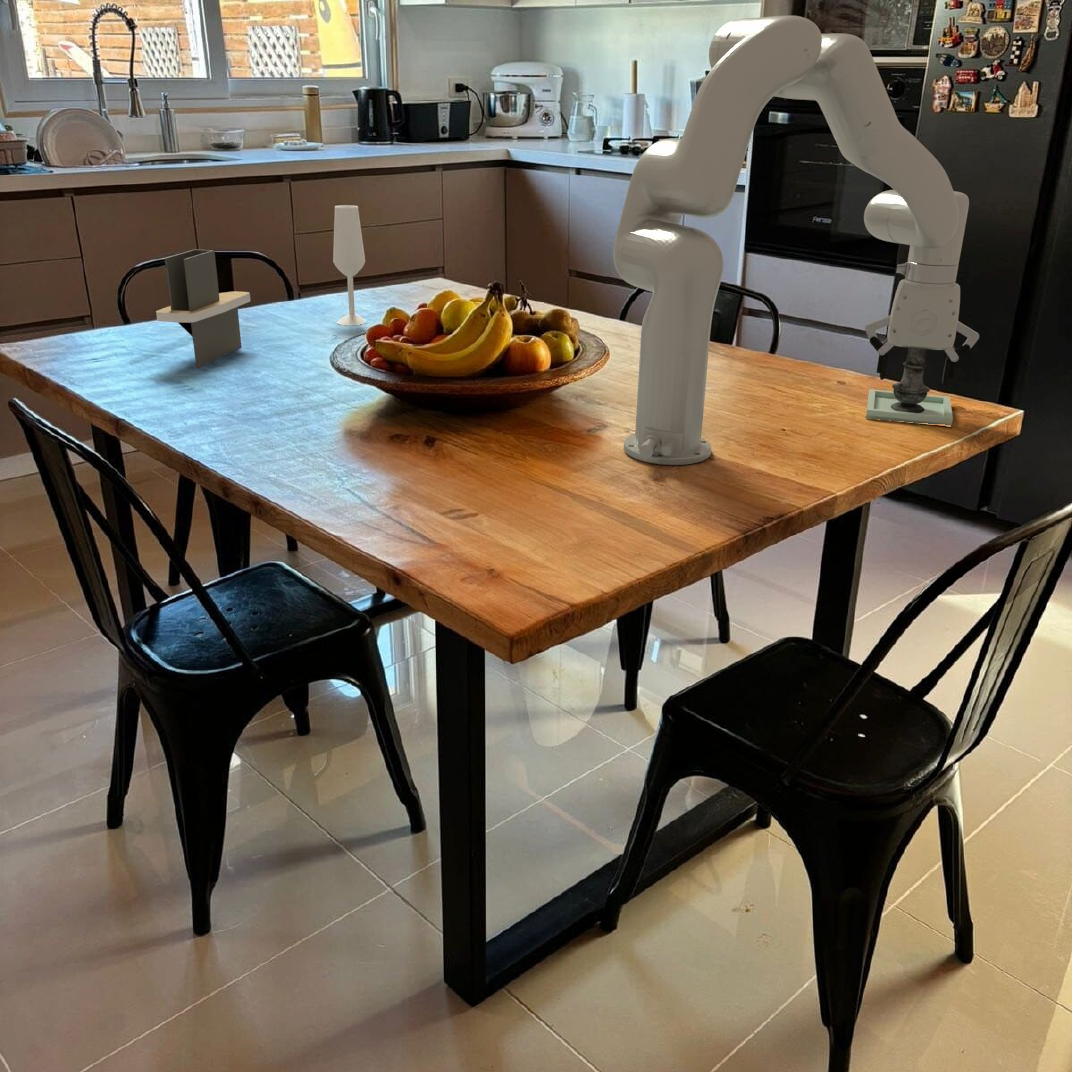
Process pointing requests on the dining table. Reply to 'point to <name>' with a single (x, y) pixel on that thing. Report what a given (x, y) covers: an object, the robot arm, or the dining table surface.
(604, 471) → the dining table surface
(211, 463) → the dining table surface
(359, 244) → the champagne flute
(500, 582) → the dining table surface
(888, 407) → the tray
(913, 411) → the salt shaker
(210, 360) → the architectural model
